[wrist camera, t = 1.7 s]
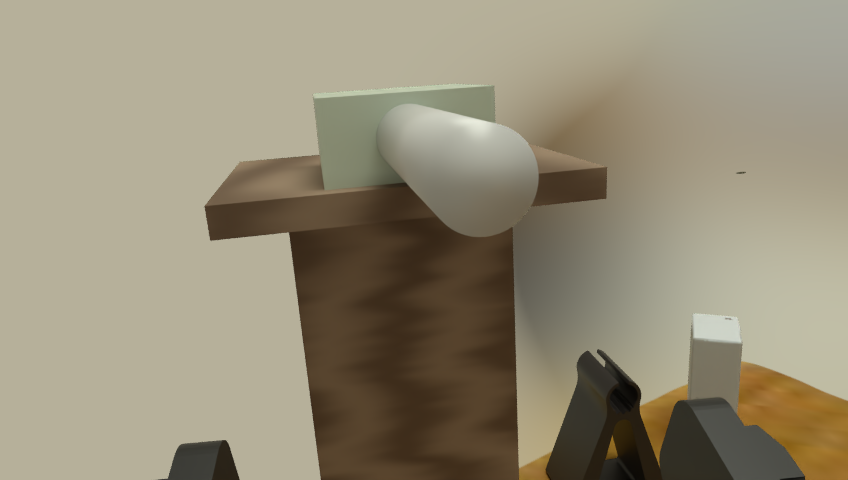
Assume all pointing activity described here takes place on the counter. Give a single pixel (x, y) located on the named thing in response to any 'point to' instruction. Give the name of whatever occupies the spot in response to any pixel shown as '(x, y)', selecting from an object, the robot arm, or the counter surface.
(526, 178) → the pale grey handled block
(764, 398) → the counter surface
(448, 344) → the walnut stand
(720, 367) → the skincare box
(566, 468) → the phone stand
